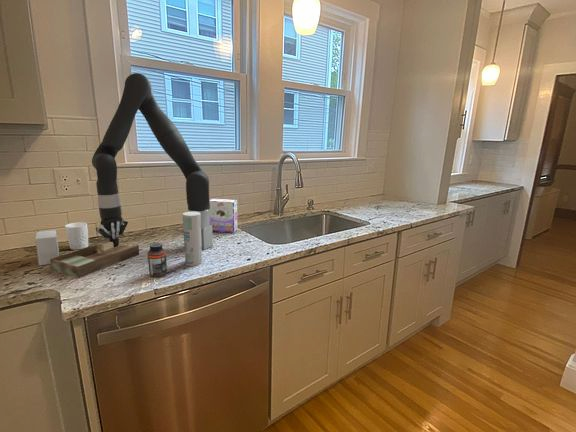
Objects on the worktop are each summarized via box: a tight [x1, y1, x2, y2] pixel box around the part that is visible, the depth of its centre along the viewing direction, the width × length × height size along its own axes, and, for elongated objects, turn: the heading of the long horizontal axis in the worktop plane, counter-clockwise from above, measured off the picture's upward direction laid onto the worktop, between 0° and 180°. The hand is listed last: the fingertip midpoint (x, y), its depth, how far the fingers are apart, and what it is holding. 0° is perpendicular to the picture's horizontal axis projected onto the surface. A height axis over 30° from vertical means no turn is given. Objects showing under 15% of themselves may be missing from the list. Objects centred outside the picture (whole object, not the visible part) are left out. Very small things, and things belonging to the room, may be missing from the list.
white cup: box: [64, 221, 90, 250], centre depth 135 cm, size 8×8×10 cm
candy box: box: [209, 198, 238, 234], centre depth 164 cm, size 14×6×16 cm, turn 80°
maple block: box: [96, 240, 114, 255], centre depth 124 cm, size 4×4×4 cm
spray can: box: [182, 211, 203, 267], centre depth 121 cm, size 6×6×20 cm
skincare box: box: [34, 229, 60, 266], centre depth 121 cm, size 10×6×10 cm, turn 35°
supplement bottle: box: [147, 242, 168, 278], centre depth 112 cm, size 6×6×11 cm
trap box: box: [50, 240, 140, 279], centre depth 122 cm, size 15×25×4 cm, turn 155°
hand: (115, 246), depth 128 cm, fingers closed
